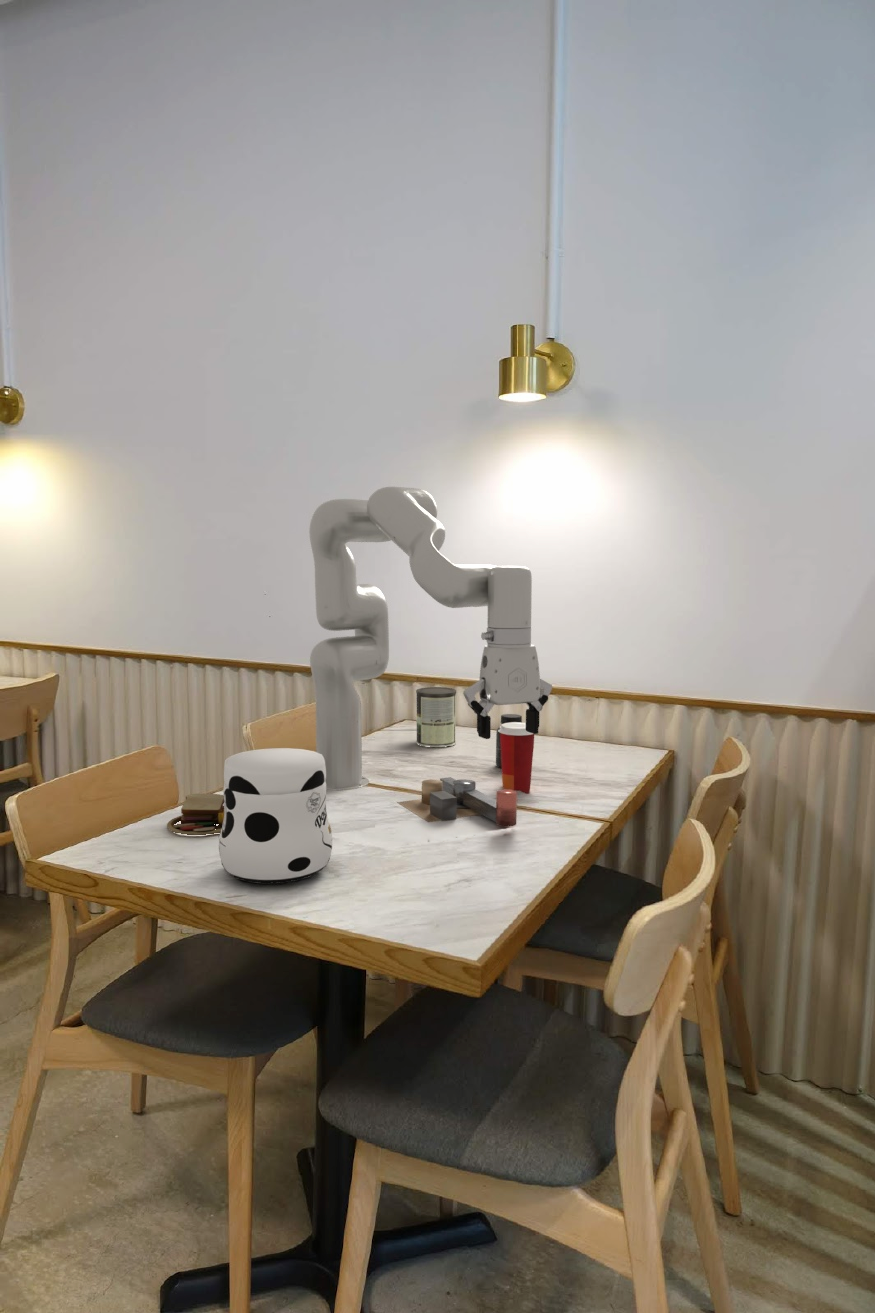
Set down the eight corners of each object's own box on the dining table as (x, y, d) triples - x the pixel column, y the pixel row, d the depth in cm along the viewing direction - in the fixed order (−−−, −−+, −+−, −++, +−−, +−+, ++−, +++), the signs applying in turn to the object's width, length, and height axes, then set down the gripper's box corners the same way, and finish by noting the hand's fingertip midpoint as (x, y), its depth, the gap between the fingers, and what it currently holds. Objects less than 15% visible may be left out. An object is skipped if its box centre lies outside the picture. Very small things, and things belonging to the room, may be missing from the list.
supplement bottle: (526, 770, 204) (527, 718, 203) (496, 769, 204) (497, 718, 203) (524, 763, 211) (524, 712, 210) (495, 762, 211) (495, 712, 210)
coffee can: (407, 743, 232) (408, 689, 230) (438, 737, 239) (438, 685, 237) (433, 750, 224) (433, 694, 223) (464, 744, 231) (464, 690, 229)
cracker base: (429, 827, 162) (429, 801, 161) (397, 807, 175) (397, 782, 174) (505, 816, 169) (506, 790, 168) (469, 797, 182) (469, 773, 181)
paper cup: (537, 788, 189) (538, 722, 187) (531, 797, 182) (532, 729, 180) (501, 785, 191) (502, 720, 190) (493, 794, 184) (494, 727, 182)
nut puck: (427, 805, 172) (427, 785, 172) (418, 800, 175) (418, 780, 175) (445, 803, 174) (446, 783, 173) (436, 798, 177) (436, 778, 177)
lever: (435, 791, 179) (435, 763, 178) (455, 789, 181) (455, 761, 180) (500, 827, 156) (501, 796, 156) (522, 824, 158) (522, 793, 157)
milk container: (355, 870, 140) (354, 758, 138) (266, 902, 128) (263, 779, 125) (285, 845, 152) (284, 741, 150) (197, 873, 139) (194, 759, 137)
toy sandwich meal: (156, 838, 156) (155, 812, 155) (182, 815, 169) (182, 791, 169) (227, 840, 155) (226, 813, 155) (248, 817, 169) (247, 792, 168)
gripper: (475, 641, 148) (475, 743, 150) (563, 637, 155) (561, 734, 157) (454, 638, 154) (454, 735, 156) (539, 633, 162) (538, 727, 164)
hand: (508, 735), depth 157 cm, fingers open, 9 cm apart
